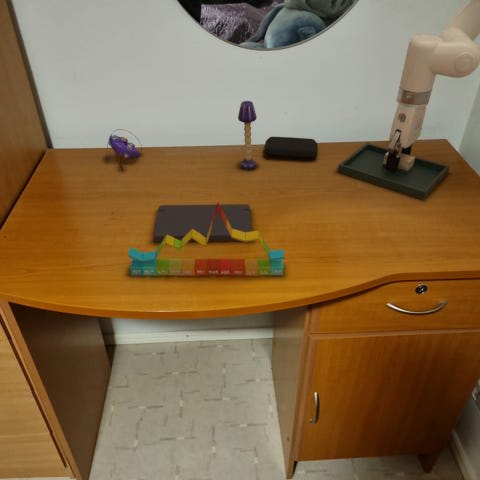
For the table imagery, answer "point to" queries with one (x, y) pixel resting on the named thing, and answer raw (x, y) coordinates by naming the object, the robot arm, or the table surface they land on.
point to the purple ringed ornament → (123, 147)
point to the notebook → (201, 221)
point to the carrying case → (291, 148)
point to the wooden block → (402, 163)
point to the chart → (153, 266)
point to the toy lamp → (247, 132)
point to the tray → (370, 169)
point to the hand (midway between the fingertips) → (396, 164)
